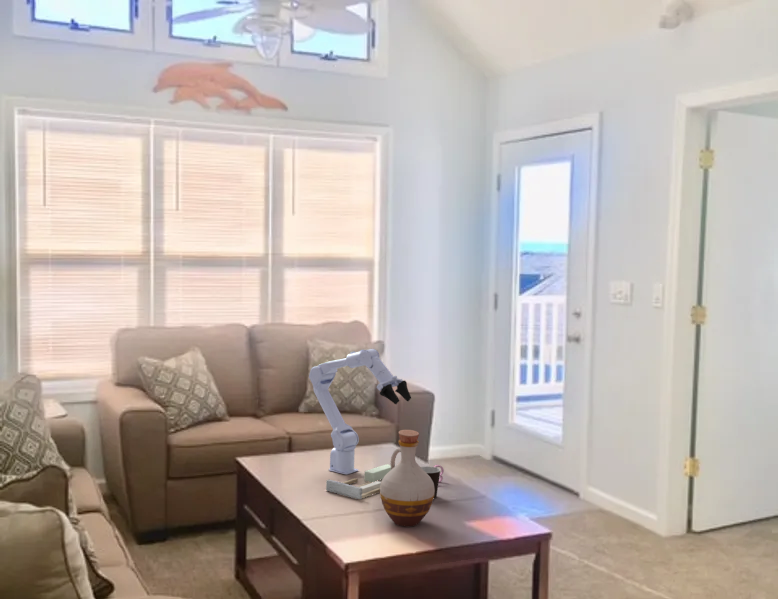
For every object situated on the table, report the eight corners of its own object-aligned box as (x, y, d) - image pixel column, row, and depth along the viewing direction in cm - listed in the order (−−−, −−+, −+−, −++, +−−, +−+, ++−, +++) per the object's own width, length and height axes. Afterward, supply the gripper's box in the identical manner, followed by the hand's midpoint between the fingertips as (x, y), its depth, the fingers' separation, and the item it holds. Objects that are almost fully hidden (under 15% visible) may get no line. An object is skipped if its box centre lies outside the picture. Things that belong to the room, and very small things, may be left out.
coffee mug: (444, 497, 292) (445, 469, 291) (429, 502, 286) (429, 474, 285) (420, 489, 300) (420, 463, 299) (404, 494, 294) (405, 467, 293)
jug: (366, 516, 269) (369, 427, 267) (412, 509, 278) (415, 422, 276) (396, 535, 252) (398, 440, 250) (444, 527, 260) (447, 435, 259)
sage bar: (364, 481, 310) (364, 471, 309) (386, 474, 321) (386, 464, 320) (372, 483, 307) (372, 473, 307) (394, 475, 318) (394, 465, 318)
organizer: (326, 491, 295) (326, 480, 295) (355, 481, 309) (355, 471, 308) (359, 499, 286) (359, 488, 286) (387, 489, 299) (387, 478, 299)
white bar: (352, 495, 292) (352, 489, 292) (377, 487, 303) (377, 481, 303) (357, 497, 290) (357, 490, 290) (382, 488, 301) (382, 482, 301)
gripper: (376, 369, 301) (397, 396, 296) (399, 365, 313) (420, 391, 307) (366, 381, 305) (387, 409, 299) (389, 377, 316) (410, 403, 311)
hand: (403, 401), depth 303 cm, fingers open, 7 cm apart
